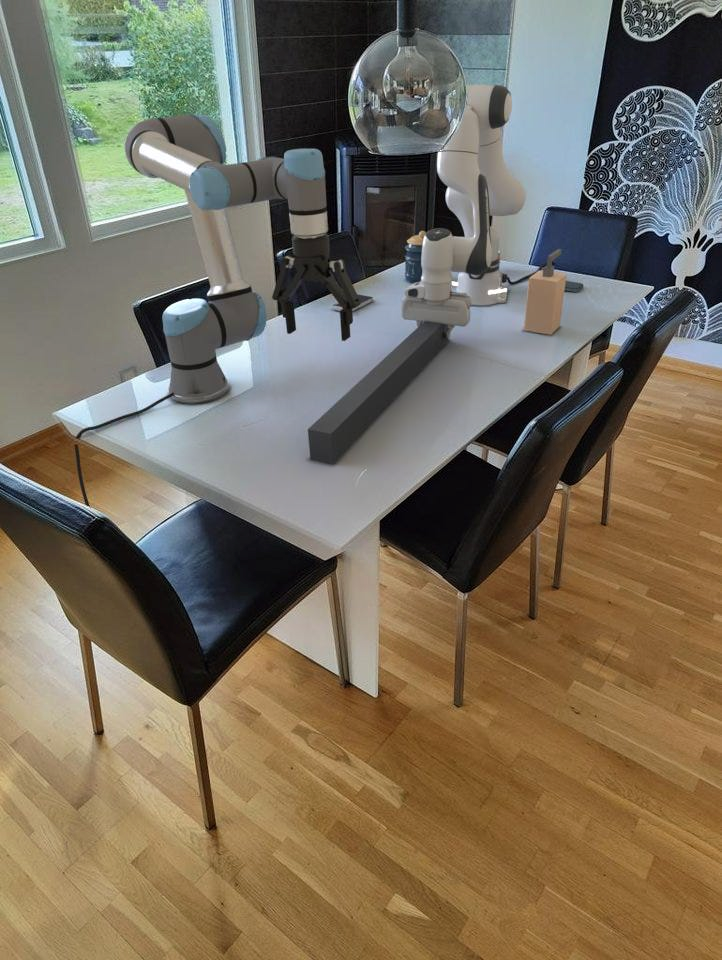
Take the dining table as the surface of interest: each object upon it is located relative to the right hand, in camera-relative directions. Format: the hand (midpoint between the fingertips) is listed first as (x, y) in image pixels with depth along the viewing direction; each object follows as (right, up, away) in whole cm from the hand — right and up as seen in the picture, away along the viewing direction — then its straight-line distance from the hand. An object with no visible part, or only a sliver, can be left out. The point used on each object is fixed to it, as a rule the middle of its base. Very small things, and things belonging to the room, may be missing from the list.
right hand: (435, 336), depth 198 cm
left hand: (-31, -11, -51) cm, 61 cm away
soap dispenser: (+35, +5, +11) cm, 37 cm away
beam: (-14, -19, -24) cm, 34 cm away
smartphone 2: (+50, +27, +44) cm, 72 cm away
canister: (+1, +34, +58) cm, 67 cm away
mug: (+28, +38, +62) cm, 78 cm away
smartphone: (-25, +18, +35) cm, 46 cm away
